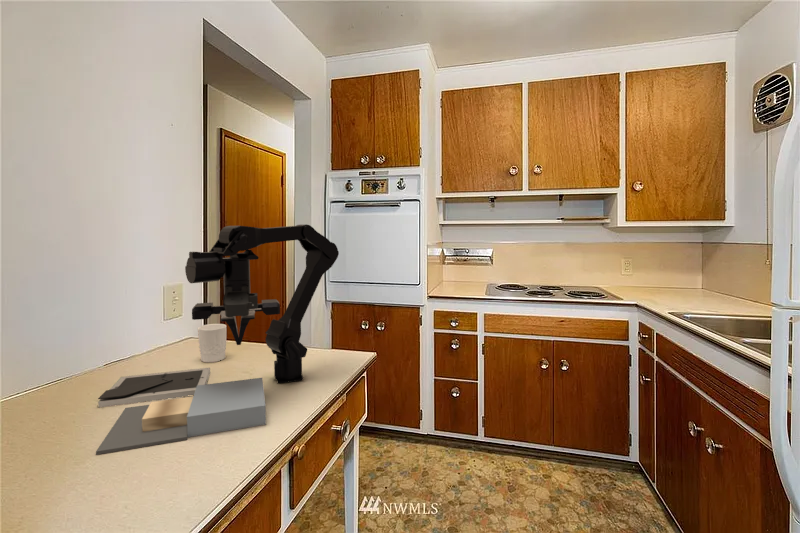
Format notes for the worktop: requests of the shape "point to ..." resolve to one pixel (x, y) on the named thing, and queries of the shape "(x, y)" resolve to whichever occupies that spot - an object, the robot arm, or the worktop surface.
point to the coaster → (166, 414)
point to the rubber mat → (138, 433)
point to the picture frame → (154, 387)
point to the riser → (226, 407)
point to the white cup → (212, 342)
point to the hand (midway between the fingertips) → (238, 344)
